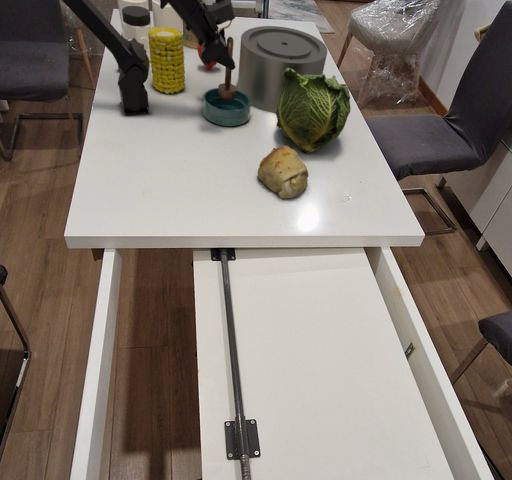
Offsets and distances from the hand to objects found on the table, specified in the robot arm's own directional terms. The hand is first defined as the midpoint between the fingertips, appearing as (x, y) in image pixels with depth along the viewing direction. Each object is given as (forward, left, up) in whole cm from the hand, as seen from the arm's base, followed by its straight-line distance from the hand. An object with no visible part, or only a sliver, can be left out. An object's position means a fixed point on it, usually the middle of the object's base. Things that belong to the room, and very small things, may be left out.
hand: (233, 66), depth 110 cm
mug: (+10, +48, -13) cm, 51 cm away
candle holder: (-13, +52, -13) cm, 56 cm away
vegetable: (+16, -17, -13) cm, 26 cm away
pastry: (+1, -33, -13) cm, 35 cm away
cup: (-6, +38, -13) cm, 41 cm away
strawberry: (+4, +28, -13) cm, 31 cm away
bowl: (-1, 0, -13) cm, 13 cm away
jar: (-15, +40, -13) cm, 45 cm away
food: (-12, +19, -13) cm, 26 cm away
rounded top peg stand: (-1, 0, -7) cm, 7 cm away
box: (-20, +30, -13) cm, 39 cm away
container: (+20, +10, -13) cm, 26 cm away
